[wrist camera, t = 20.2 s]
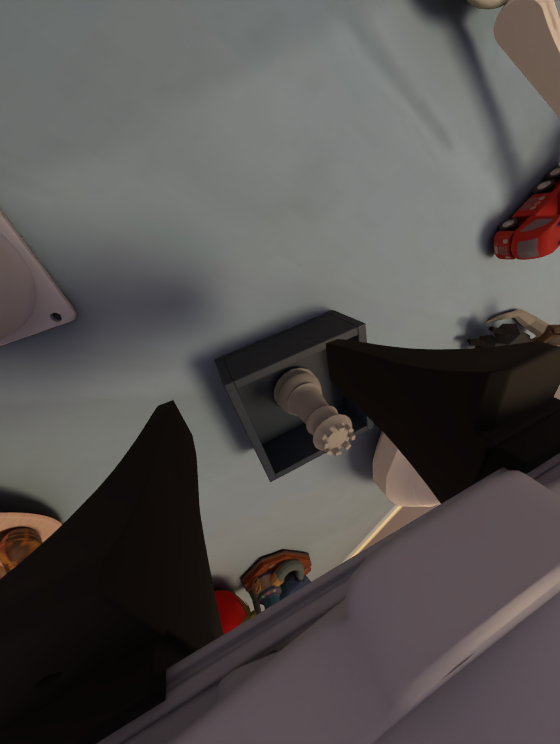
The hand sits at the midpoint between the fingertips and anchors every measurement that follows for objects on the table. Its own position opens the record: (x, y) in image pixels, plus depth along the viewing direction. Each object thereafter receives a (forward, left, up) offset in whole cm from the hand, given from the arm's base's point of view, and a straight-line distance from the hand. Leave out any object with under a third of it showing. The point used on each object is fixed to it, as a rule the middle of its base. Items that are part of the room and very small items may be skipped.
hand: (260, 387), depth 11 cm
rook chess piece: (+4, -8, -10) cm, 13 cm away
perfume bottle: (-24, -8, -8) cm, 27 cm away
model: (-7, -40, -10) cm, 42 cm away
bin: (+4, -8, -10) cm, 13 cm away
